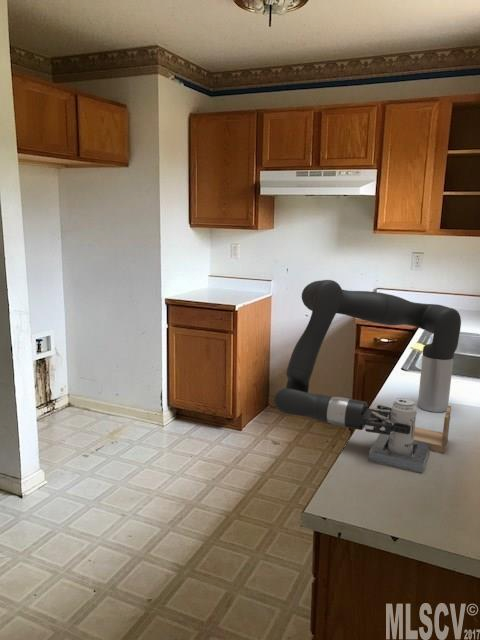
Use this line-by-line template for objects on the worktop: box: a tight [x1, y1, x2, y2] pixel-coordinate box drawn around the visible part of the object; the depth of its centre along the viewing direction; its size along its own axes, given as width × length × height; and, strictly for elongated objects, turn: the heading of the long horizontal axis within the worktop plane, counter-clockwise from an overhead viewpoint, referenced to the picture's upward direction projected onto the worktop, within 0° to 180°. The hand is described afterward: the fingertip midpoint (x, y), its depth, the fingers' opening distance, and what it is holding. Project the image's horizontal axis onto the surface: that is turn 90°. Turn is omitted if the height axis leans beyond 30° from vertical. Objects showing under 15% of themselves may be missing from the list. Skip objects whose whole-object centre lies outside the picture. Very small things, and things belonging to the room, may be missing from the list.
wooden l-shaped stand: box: [414, 405, 452, 454], centre depth 142 cm, size 9×9×10 cm
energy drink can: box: [387, 397, 417, 456], centre depth 133 cm, size 6×6×15 cm
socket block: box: [368, 433, 430, 474], centre depth 135 cm, size 13×13×2 cm
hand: (412, 425), depth 132 cm, fingers closed on energy drink can, 6 cm apart
